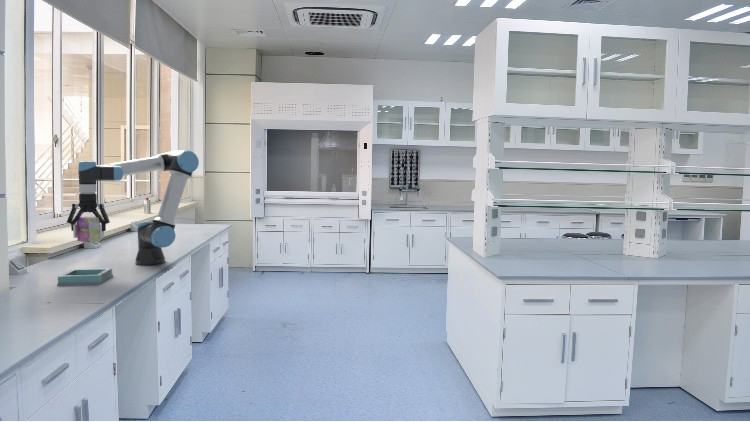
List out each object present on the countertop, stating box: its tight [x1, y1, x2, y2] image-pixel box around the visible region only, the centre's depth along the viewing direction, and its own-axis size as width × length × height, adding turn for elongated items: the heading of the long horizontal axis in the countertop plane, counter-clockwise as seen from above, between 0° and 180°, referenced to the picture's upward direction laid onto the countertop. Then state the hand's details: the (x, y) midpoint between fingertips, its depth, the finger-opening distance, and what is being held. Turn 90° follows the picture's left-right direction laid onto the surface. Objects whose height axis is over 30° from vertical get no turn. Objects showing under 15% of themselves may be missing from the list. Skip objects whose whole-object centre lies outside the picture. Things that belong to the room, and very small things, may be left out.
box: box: [76, 216, 102, 244], centre depth 255 cm, size 10×6×12 cm, turn 60°
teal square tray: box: [56, 267, 114, 287], centre depth 248 cm, size 18×18×4 cm
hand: (88, 237), depth 255 cm, fingers closed on box, 11 cm apart
